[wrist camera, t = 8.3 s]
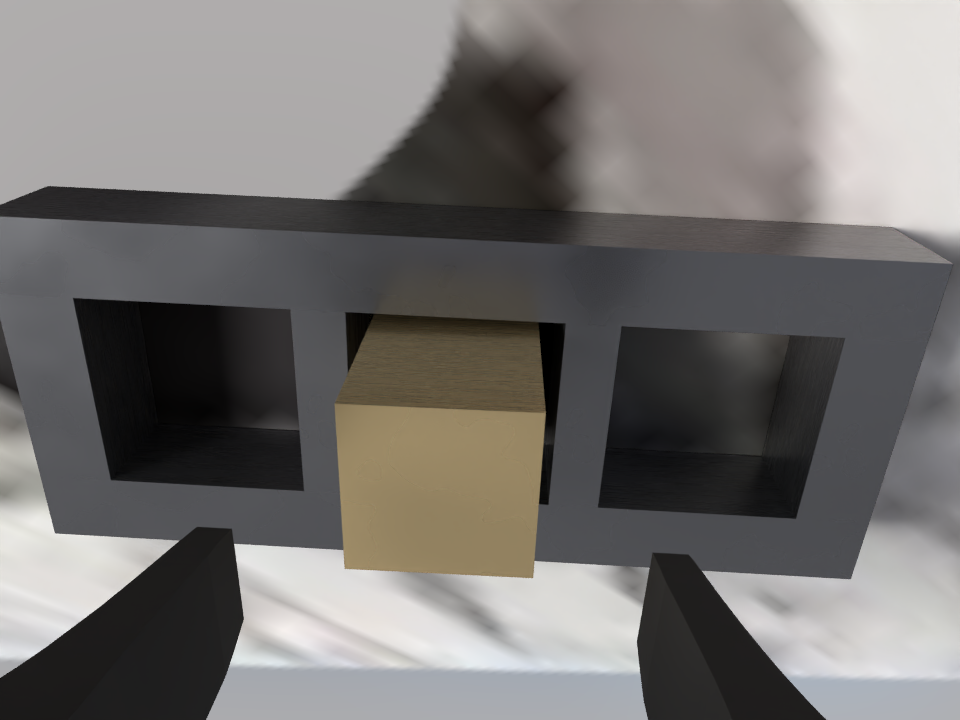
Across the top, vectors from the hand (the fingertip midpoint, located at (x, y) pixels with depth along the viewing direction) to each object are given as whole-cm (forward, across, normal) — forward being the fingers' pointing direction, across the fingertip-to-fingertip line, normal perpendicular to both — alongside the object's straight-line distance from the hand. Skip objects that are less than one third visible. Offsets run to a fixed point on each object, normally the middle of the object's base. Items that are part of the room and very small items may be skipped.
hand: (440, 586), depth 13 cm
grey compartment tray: (+9, 0, 0) cm, 9 cm away
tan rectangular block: (+9, 0, 0) cm, 9 cm away
